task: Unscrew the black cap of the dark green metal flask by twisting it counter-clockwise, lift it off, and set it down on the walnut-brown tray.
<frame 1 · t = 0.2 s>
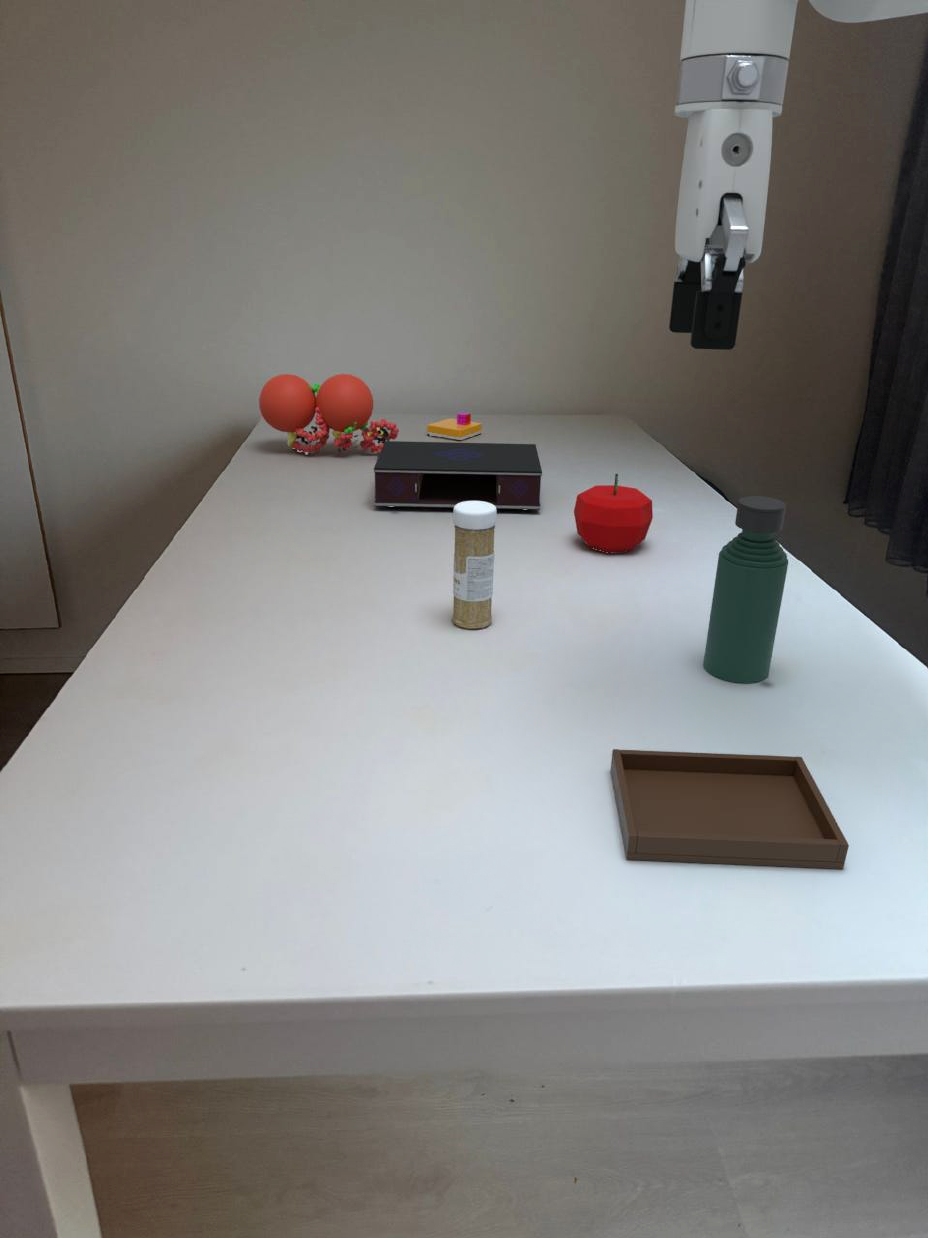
hand: (699, 339, 72), 33 cm above the table, tool pointing down, fingers open, 9 cm apart
flask: (735, 668, 91), on the table
apple: (610, 546, 125), on the table
tray: (717, 816, 69), on the table
orange slab with cube: (454, 435, 184), on the table
low media console: (458, 497, 144), on the table
spice jar: (472, 623, 101), on the table
molecule: (331, 454, 168), on the table
flask cap: (761, 505, 84), point 17 cm above the table, screwed on, not yet turned
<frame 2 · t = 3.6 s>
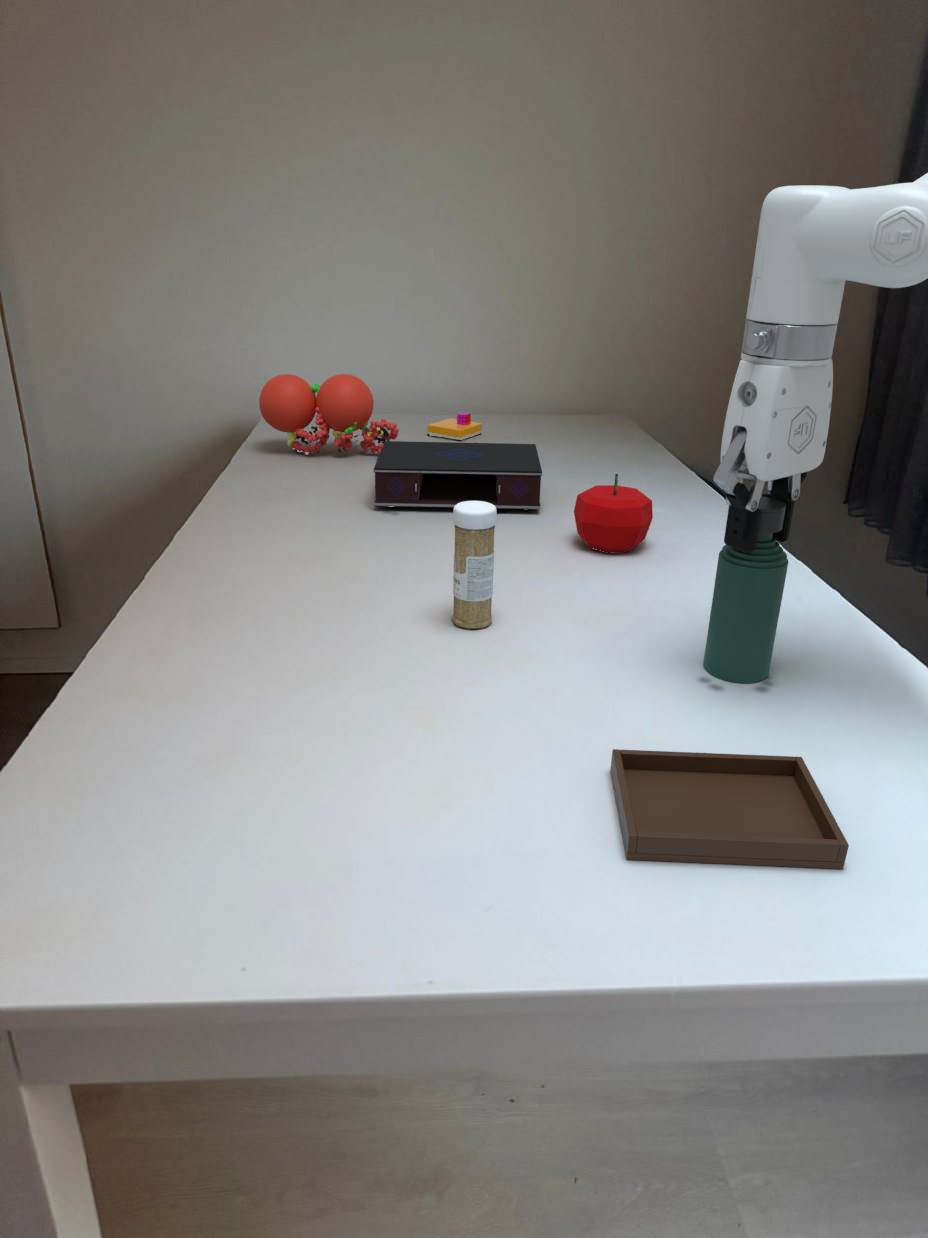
hand: (756, 540, 86), 14 cm above the table, tool pointing down, fingers closed on flask cap, 4 cm apart
flask cap: (761, 505, 84), point 17 cm above the table, screwed on, not yet turned, touching gripper
everything else where it was.
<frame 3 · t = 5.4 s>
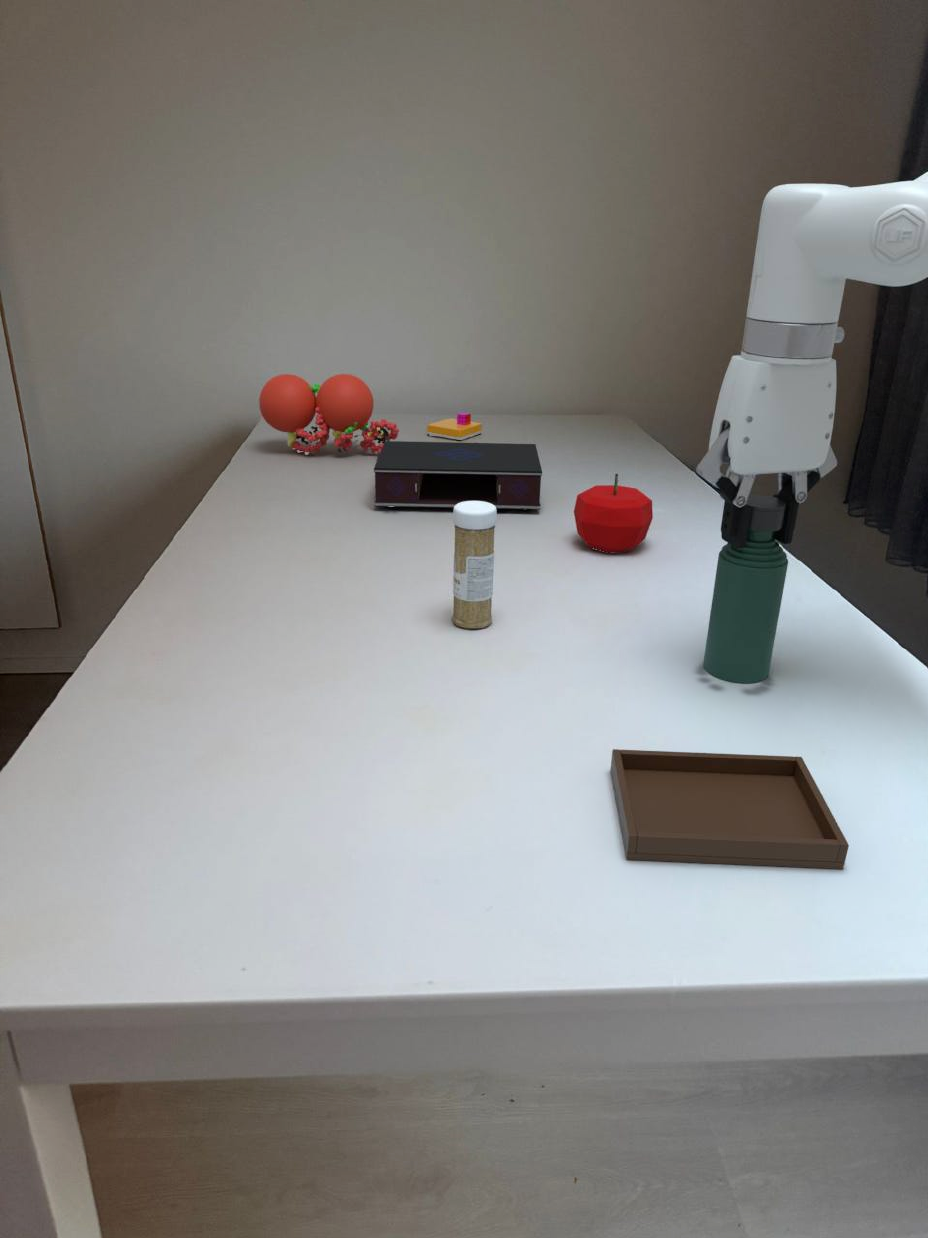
hand: (755, 539, 86), 14 cm above the table, tool pointing down, fingers closed on flask cap, 4 cm apart
flask cap: (761, 504, 84), point 17 cm above the table, turned 159° so far, risen 0.1 cm, still on its thread, touching gripper
everything else where it was.
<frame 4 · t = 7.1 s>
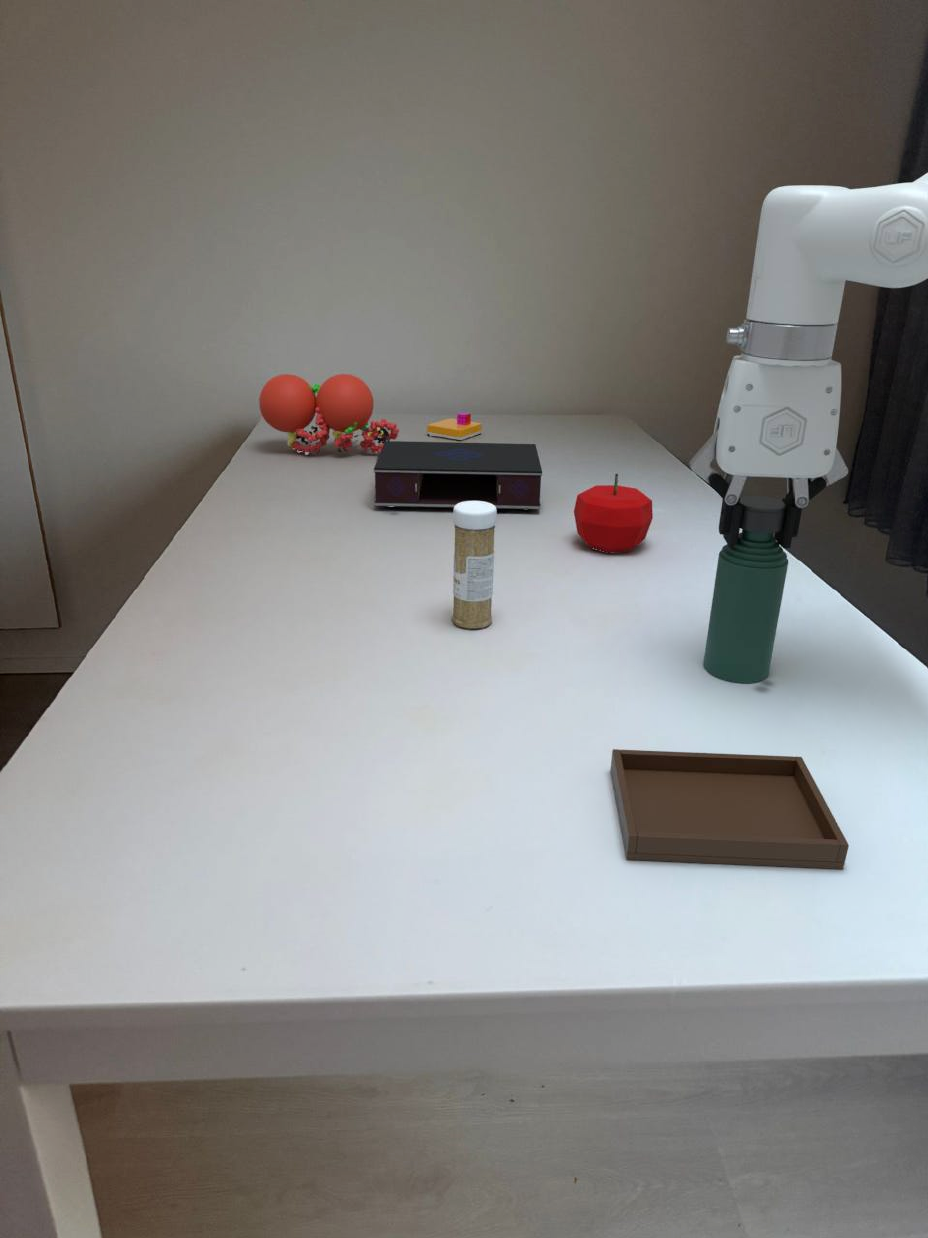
hand: (756, 540, 86), 14 cm above the table, tool pointing down, fingers closed on flask cap, 4 cm apart
flask cap: (761, 505, 84), point 17 cm above the table, off its thread, touching gripper
everything else where it was.
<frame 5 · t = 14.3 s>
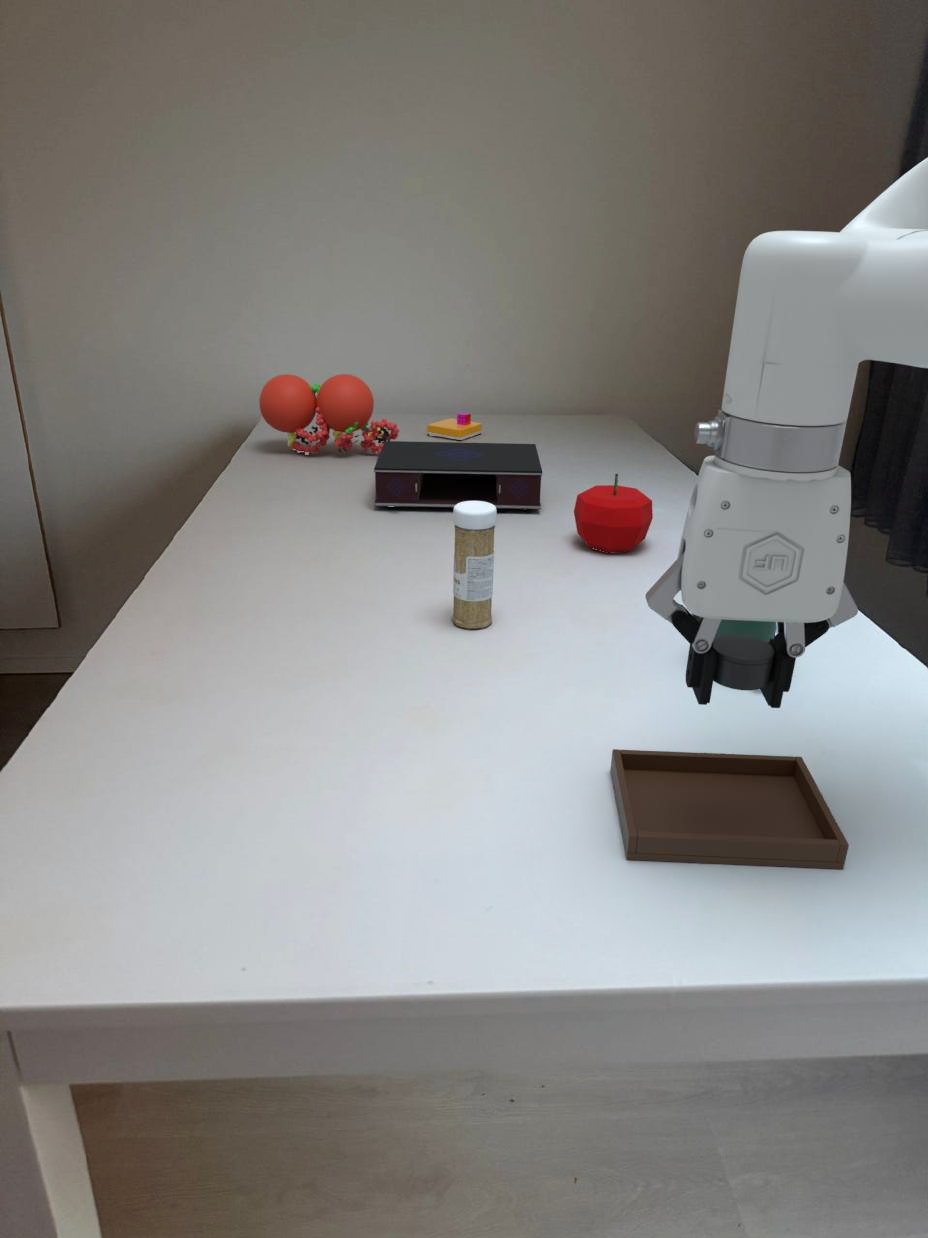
hand: (734, 694, 65), 11 cm above the table, tool pointing down, fingers closed on flask cap, 4 cm apart
flask cap: (742, 650, 63), point 14 cm above the table, off its thread, touching gripper
everything else where it was.
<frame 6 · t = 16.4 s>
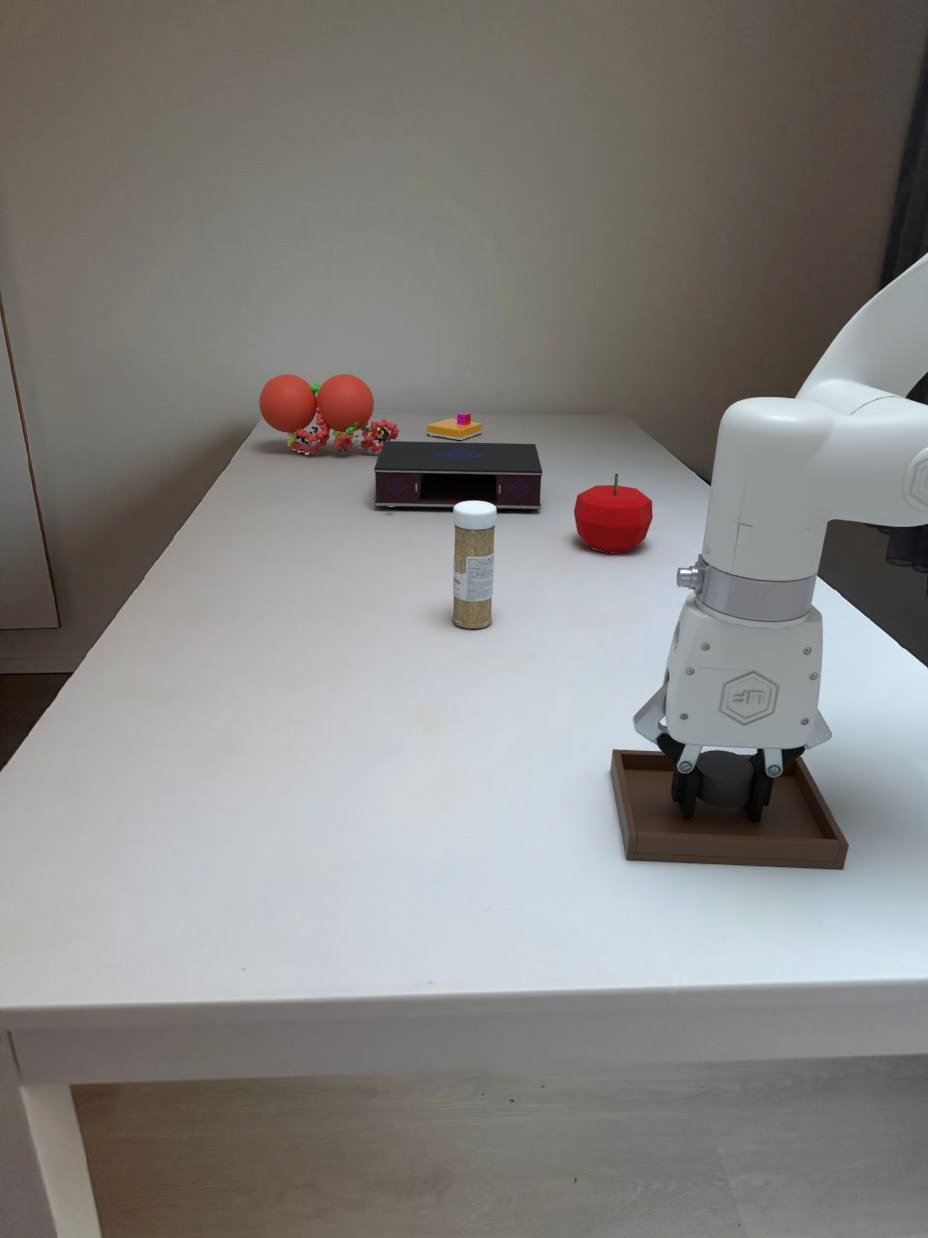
hand: (717, 807, 69), 1 cm above the table, tool pointing down, fingers closed on flask cap, 4 cm apart
flask cap: (724, 769, 67), point 4 cm above the table, off its thread, touching gripper
everything else where it was.
when the fingers open (2 cm above the table, at t = 25.3 s): flask cap drops 3 cm, resting on tray.
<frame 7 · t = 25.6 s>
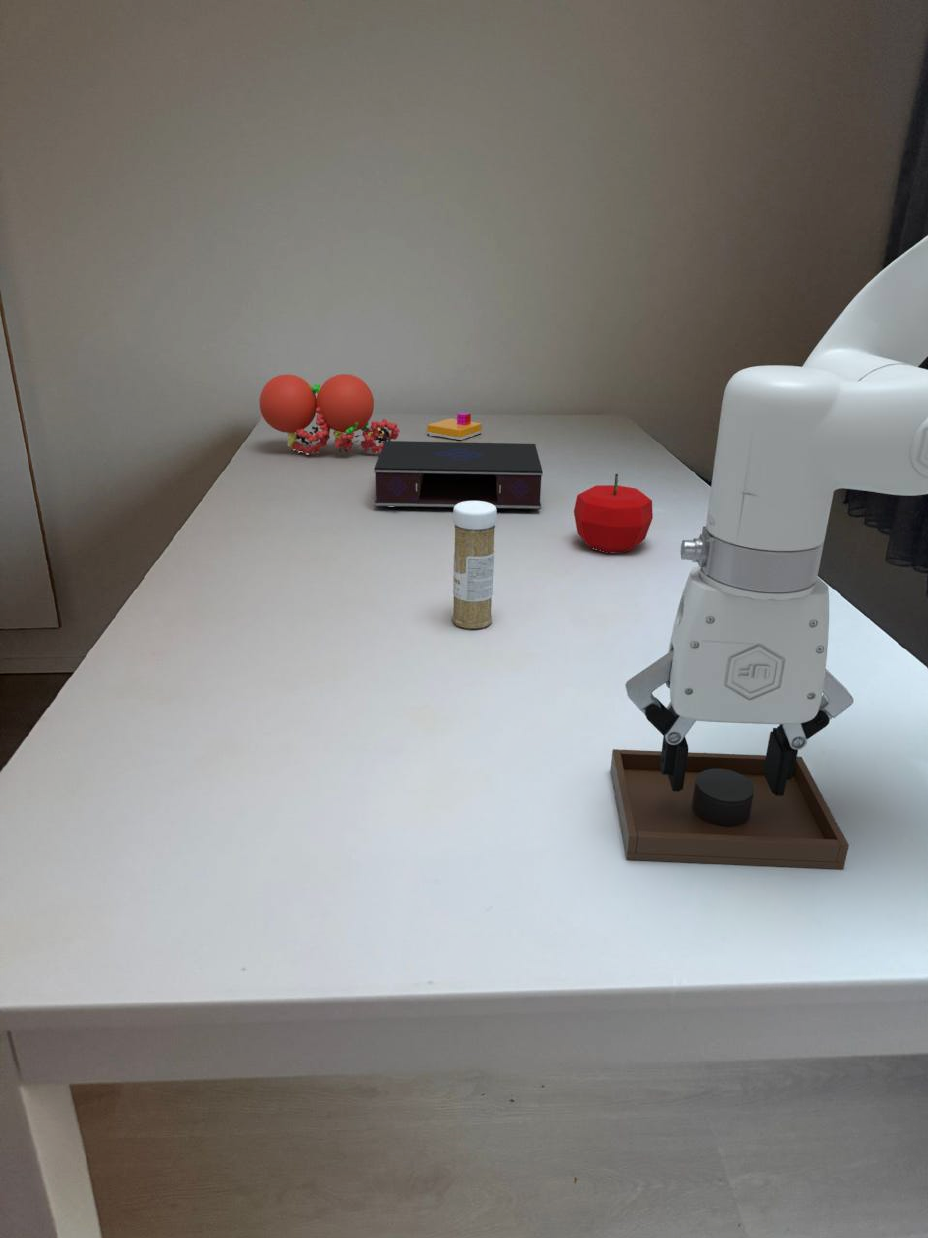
hand: (723, 781, 68), 3 cm above the table, tool pointing down, fingers open, 6 cm apart
flask cap: (724, 787, 68), point 3 cm above the table, off its thread, touching tray
everything else where it was.
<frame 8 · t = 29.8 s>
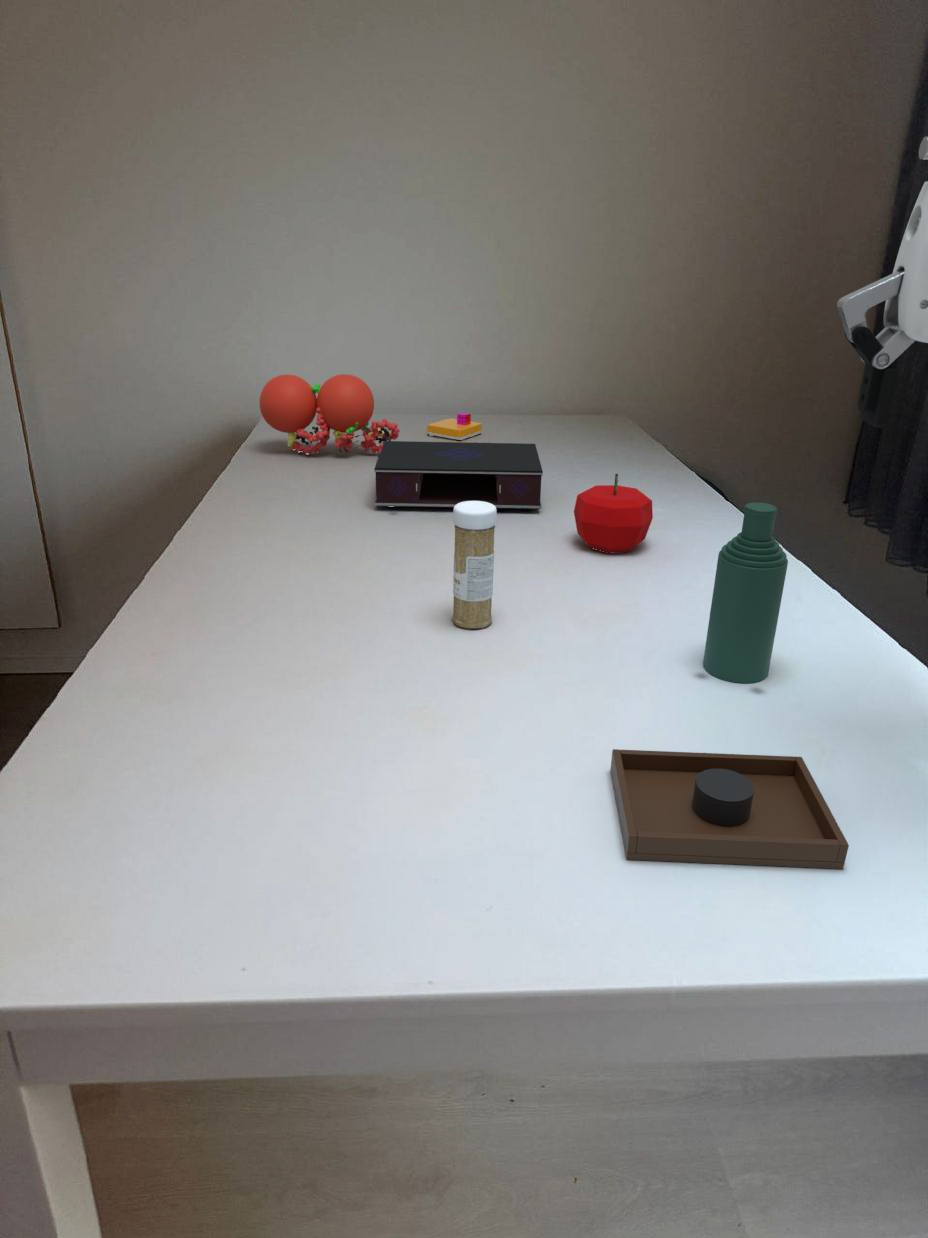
nothing on the table moved.
at the end: flask cap inside the target area on the tray (0.1 cm from its centre), point 2.6 cm above the tray's base; the gripper is holding nothing; flask tilted 0° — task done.
